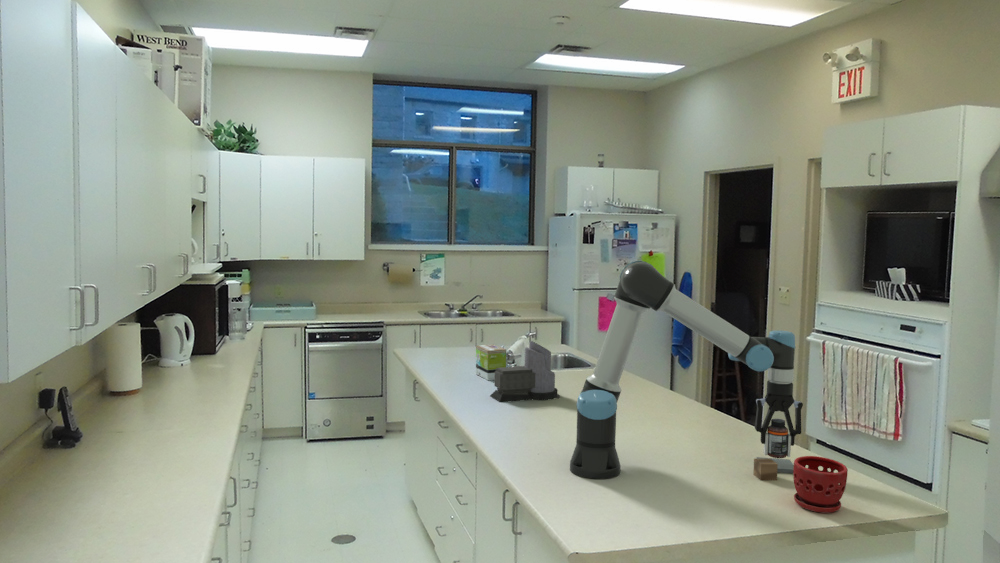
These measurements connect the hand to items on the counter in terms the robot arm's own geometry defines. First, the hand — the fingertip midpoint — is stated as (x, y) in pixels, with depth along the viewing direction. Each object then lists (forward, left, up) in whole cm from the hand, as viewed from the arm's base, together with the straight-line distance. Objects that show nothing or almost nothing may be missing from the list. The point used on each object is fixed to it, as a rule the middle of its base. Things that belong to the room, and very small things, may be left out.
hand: (776, 454), depth 225 cm
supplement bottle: (0, 0, -1) cm, 1 cm away
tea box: (+107, +112, -4) cm, 155 cm away
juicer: (+72, +89, -4) cm, 115 cm away
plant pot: (-32, -5, -4) cm, 32 cm away
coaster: (0, 0, -4) cm, 4 cm away
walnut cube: (-11, +5, -4) cm, 12 cm away
